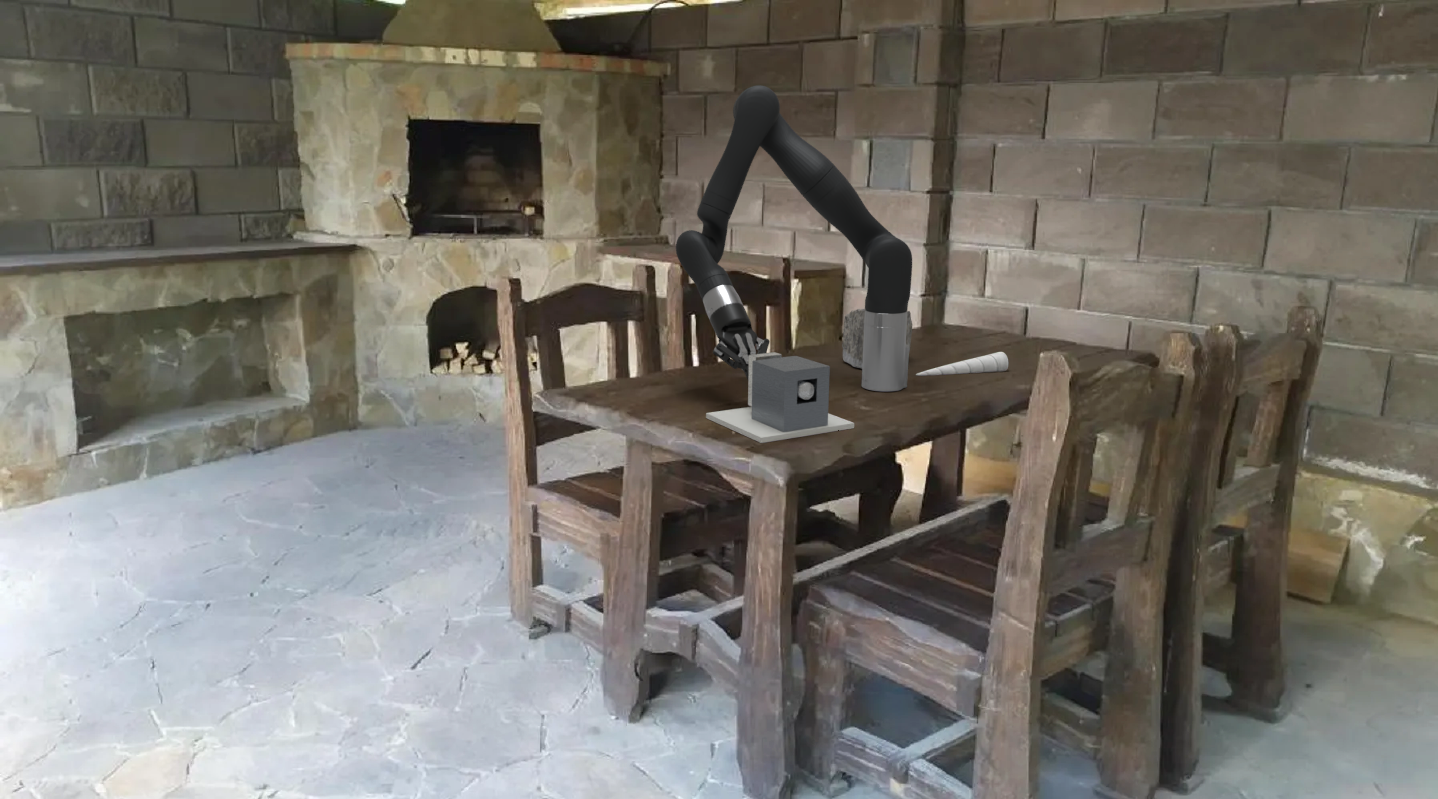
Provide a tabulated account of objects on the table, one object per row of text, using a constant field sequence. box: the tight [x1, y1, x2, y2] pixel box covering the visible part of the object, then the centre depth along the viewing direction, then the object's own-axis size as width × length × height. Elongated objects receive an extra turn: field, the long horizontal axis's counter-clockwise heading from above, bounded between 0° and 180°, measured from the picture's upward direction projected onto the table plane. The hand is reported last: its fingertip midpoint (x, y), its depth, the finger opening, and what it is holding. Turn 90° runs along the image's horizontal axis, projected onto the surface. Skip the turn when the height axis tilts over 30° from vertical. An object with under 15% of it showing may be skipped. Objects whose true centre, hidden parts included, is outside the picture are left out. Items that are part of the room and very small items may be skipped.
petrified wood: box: [841, 308, 913, 370], centre depth 253 cm, size 19×17×15 cm
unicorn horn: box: [915, 351, 1009, 377], centre depth 245 cm, size 5×24×5 cm, turn 105°
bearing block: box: [751, 355, 831, 432], centre depth 195 cm, size 10×11×11 cm
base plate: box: [705, 406, 855, 444], centre depth 199 cm, size 21×20×1 cm
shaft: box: [747, 351, 814, 407], centre depth 197 cm, size 6×16×10 cm, turn 31°
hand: (757, 382), depth 204 cm, fingers closed
